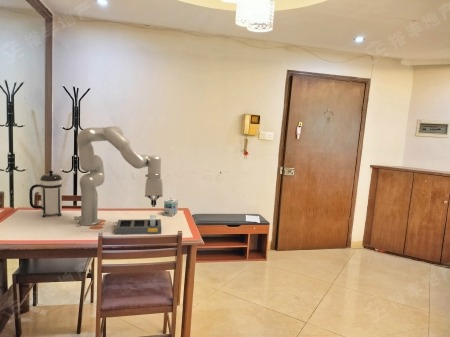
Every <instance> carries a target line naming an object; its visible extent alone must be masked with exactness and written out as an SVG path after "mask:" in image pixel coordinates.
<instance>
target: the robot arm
mask: <svg viewBox="0 0 450 337" xmlns="http://www.w3.org/2000/svg"><path fill="white" fill-rule="evenodd" d="M103 141H104V142H106V141H107V142H108V143H109V144H110V145H112V146H113V147H114V148H115V149H116V150H117V151H118V152H119V153H120V155H121V156H122V158H123V159H124V161H125V162H127V163H128V164H129V165H130V166H132V168H135V169H143V168H147V174H145V177H146V180H145V186H144V188H145V191H144V193H145V194H144V197H145V198H148V199H149V200H150V205H151V206H152V208H155V207H156V206H157V201H158V199H159V198H162V197H164V195H163V192H164V191H163V188H164V187H163V179H162V178H161V177H162V176H161V172H162V158H161V157H160V156H157V155H147V154H141V155H139V154H137V152H135V151H134V150H133V149H132V147H131V141H130V140H129V139H128V138H127V137H125V136H124V132H123V130H122V129H121V127H119V126H106V127H104V126H103V127H86V128H84V129H81V130H80V131H79V133H78V134H77V138H76V142H77V147H78V148H77V150H78V159H79V165H80V169H81V170H82V171H83V172H87V173H86V174H83V175H82V176H81V177H80V179H79V188H80V201H81V202H80V206H81V208H80V209H81V210H80V213H81V215H79V216H78V215H75V216H73V220H74V221H78V224H79V225H81V226H87V227H88V226H95V225H98V224H100V223H101V220H100V219H99V217H98V216H99V215H98V214H99V213H98V210H99V209H98V208H99V206H98V205H99V204H98V198H99V197H98V191H97V187H100V186H102V185H103V184H104V182H105V169H104V162H103V159H102V157H101V156H99V155H97V154H95V152H94V151H95V150H94V146H93V144H92V143H93V142H103ZM88 172H89V173H88ZM153 196H154V197H153Z"/></svg>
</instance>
